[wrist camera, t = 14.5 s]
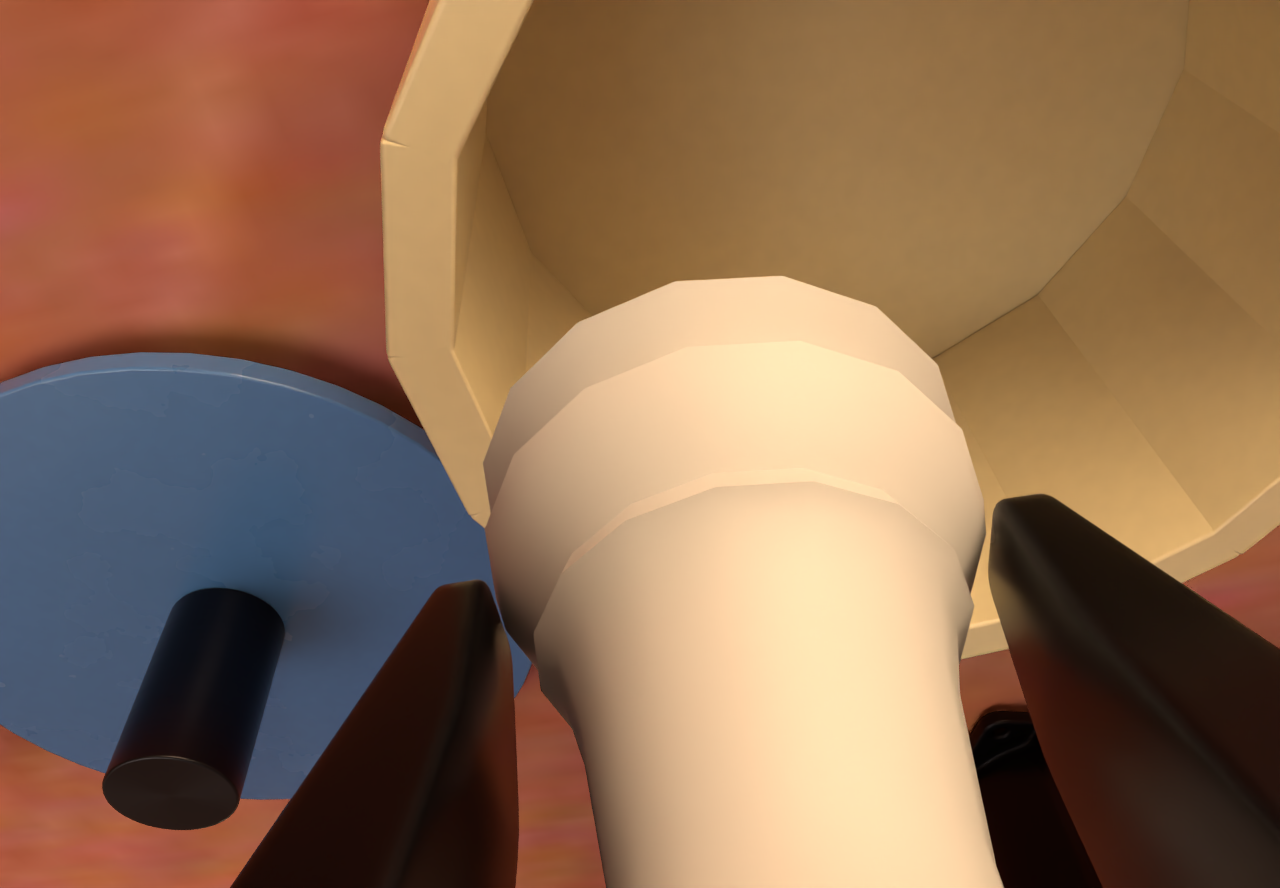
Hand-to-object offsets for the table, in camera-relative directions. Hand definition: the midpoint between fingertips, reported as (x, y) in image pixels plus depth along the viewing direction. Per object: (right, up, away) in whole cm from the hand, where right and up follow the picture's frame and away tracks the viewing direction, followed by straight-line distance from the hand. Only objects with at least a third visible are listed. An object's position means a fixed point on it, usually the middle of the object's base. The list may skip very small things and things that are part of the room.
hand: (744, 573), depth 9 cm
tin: (+3, +7, +9) cm, 12 cm away
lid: (-11, -3, +16) cm, 19 cm away
